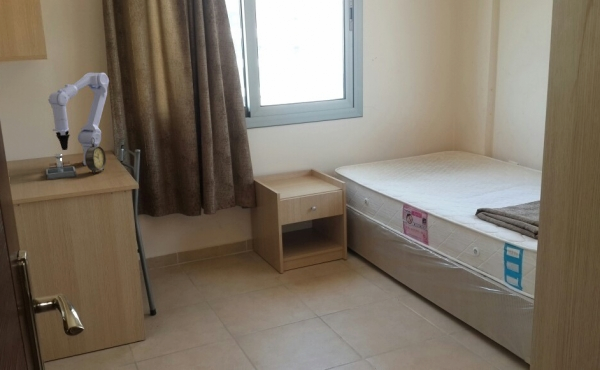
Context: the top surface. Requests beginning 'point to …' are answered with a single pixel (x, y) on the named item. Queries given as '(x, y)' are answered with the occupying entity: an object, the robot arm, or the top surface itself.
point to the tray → (55, 175)
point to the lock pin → (59, 162)
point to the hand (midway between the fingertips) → (64, 148)
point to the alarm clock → (95, 158)
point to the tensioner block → (53, 165)
